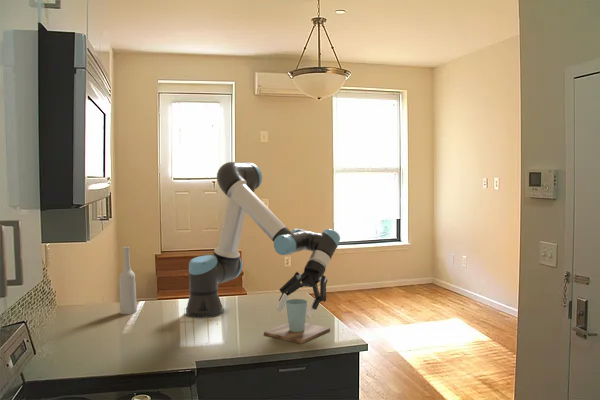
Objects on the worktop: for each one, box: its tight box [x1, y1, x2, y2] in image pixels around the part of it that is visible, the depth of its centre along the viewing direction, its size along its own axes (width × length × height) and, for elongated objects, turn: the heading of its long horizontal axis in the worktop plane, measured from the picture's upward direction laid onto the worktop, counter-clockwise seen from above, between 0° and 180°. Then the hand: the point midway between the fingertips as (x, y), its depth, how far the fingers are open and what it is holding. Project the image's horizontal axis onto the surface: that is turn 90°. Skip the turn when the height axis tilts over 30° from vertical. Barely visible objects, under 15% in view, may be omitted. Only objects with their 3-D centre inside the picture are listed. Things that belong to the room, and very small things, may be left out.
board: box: [263, 322, 331, 345], centre depth 179 cm, size 17×17×1 cm
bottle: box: [118, 246, 138, 315], centre depth 210 cm, size 7×7×28 cm
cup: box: [285, 298, 308, 332], centre depth 178 cm, size 8×8×10 cm
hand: (292, 313), depth 176 cm, fingers open, 13 cm apart
